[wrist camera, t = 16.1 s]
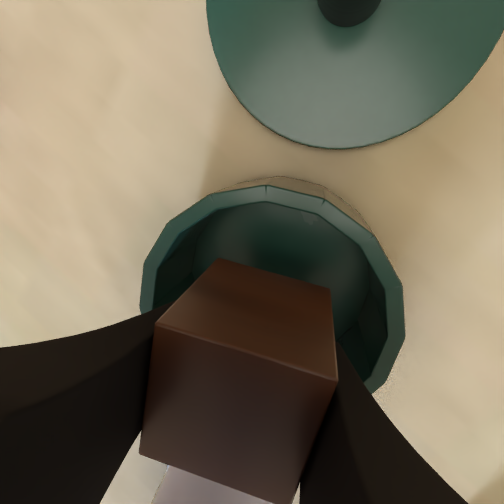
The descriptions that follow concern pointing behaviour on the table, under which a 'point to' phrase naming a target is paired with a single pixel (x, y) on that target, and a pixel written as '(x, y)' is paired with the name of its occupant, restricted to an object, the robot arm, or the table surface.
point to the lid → (350, 62)
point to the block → (241, 379)
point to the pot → (290, 260)
